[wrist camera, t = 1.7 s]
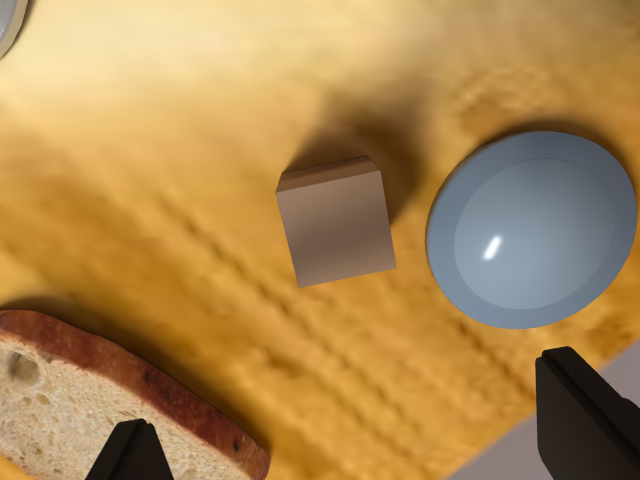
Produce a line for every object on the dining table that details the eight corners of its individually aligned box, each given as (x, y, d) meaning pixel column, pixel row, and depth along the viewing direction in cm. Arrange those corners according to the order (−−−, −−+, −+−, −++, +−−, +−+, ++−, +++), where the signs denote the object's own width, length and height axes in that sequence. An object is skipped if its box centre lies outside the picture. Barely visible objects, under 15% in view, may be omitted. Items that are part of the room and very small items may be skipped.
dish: (411, 155, 25) (417, 158, 24) (624, 109, 25) (640, 110, 24) (437, 335, 29) (443, 346, 28) (622, 299, 29) (635, 308, 27)
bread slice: (278, 487, 34) (274, 535, 30) (45, 519, 34) (15, 569, 30) (227, 270, 28) (215, 297, 24) (-53, 312, 28) (-105, 344, 25)
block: (281, 173, 26) (275, 193, 21) (367, 155, 25) (380, 170, 21) (300, 253, 27) (298, 287, 22) (381, 236, 27) (396, 268, 22)
